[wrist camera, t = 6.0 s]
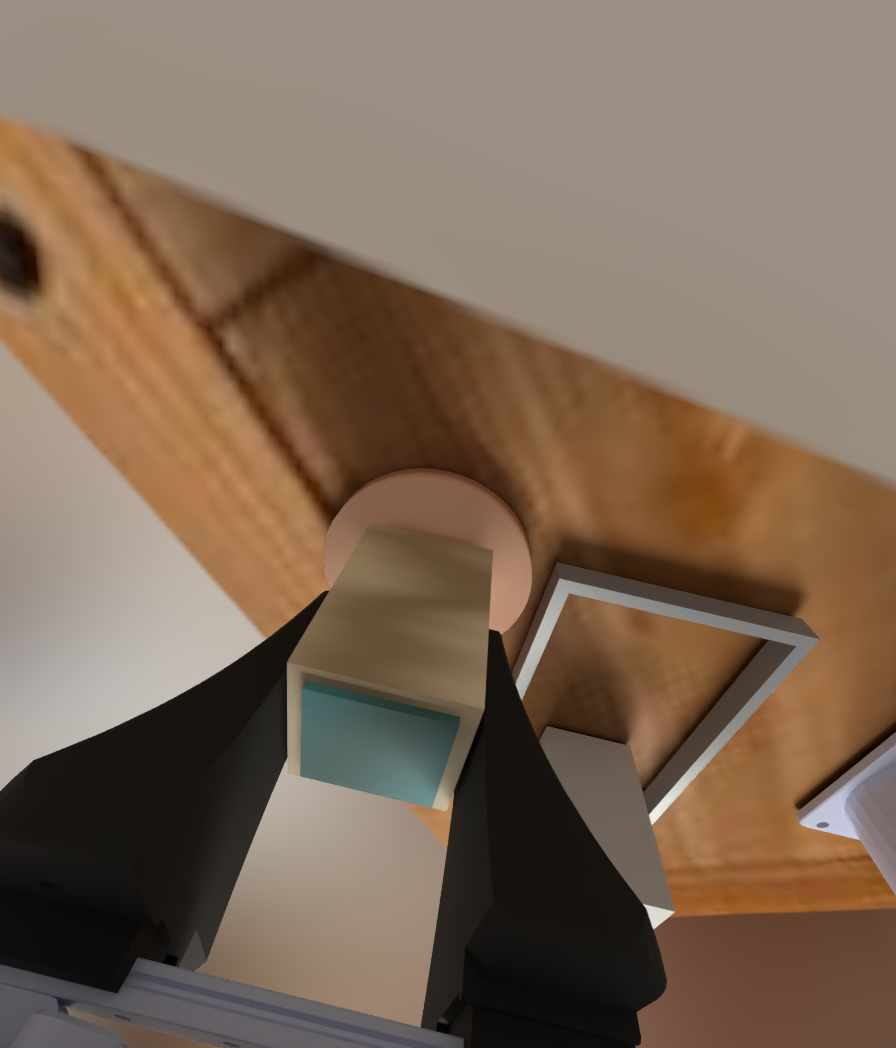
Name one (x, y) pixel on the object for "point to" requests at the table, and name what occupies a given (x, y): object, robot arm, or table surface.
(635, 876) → the grey block
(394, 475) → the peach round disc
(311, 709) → the tan and teal block
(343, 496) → the table surface
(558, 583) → the open rectangular frame
